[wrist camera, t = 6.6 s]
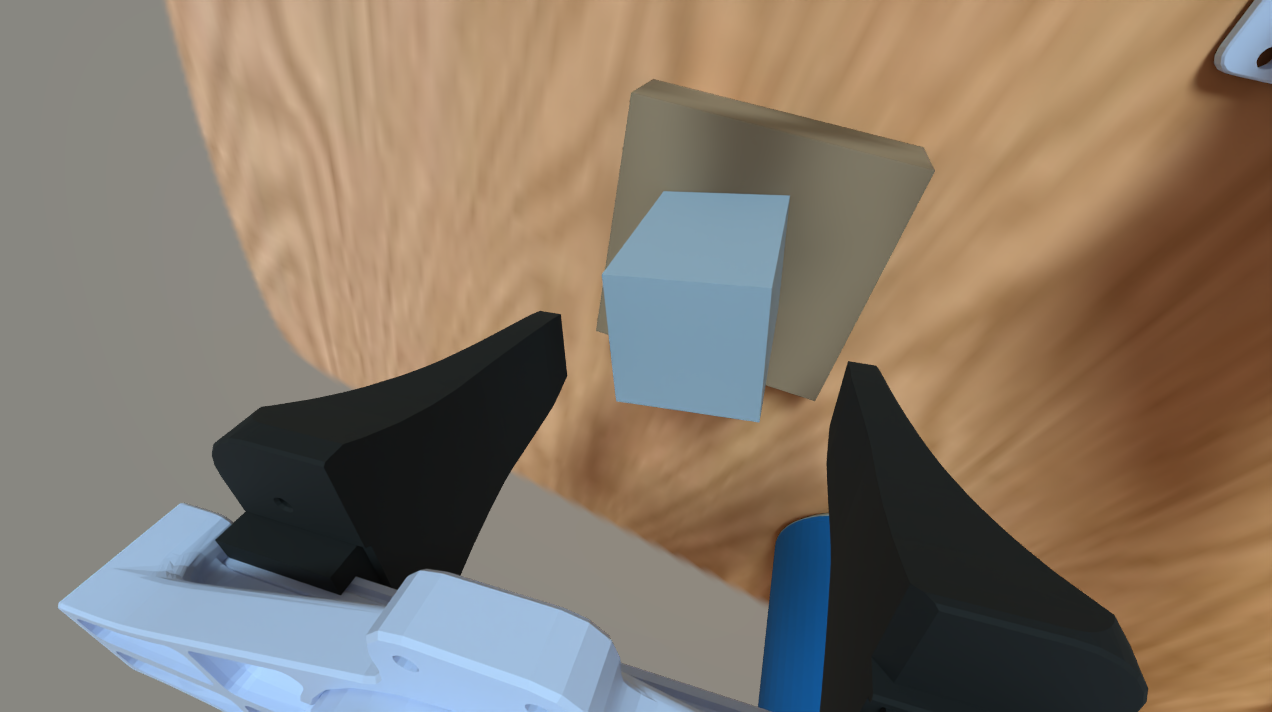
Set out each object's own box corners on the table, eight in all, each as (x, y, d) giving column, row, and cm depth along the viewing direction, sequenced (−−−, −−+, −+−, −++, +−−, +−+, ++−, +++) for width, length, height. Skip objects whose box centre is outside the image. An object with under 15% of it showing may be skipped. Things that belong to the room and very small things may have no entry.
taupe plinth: (921, 143, 17) (935, 170, 15) (817, 356, 23) (814, 401, 20) (657, 77, 18) (631, 92, 16) (619, 295, 24) (596, 330, 22)
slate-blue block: (790, 195, 16) (771, 288, 12) (778, 308, 19) (759, 422, 14) (663, 191, 17) (601, 274, 13) (667, 298, 20) (616, 401, 15)
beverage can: (936, 560, 27) (988, 874, 18) (831, 594, 31) (829, 864, 22) (848, 485, 26) (855, 777, 16) (751, 529, 30) (712, 785, 20)
